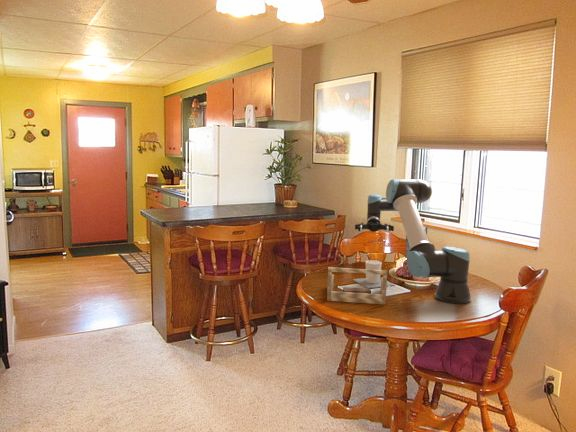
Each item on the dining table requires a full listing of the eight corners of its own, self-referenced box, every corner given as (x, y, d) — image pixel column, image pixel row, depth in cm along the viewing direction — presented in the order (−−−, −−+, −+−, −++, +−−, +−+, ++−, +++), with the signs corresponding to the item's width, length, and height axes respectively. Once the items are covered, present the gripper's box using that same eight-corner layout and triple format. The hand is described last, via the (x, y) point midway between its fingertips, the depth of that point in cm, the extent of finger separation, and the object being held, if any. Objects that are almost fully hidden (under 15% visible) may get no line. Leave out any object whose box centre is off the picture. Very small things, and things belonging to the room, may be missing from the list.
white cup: (380, 284, 233) (381, 264, 231) (364, 283, 235) (365, 263, 233) (380, 280, 241) (381, 260, 239) (365, 278, 242) (365, 259, 241)
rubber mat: (394, 285, 233) (394, 284, 232) (367, 288, 227) (367, 287, 227) (378, 277, 246) (378, 276, 246) (352, 280, 241) (352, 279, 241)
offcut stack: (369, 297, 215) (370, 287, 215) (372, 301, 209) (372, 291, 209) (338, 297, 215) (339, 287, 214) (340, 301, 209) (341, 291, 208)
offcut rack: (383, 289, 226) (385, 259, 224) (385, 304, 205) (387, 271, 203) (330, 286, 230) (331, 256, 228) (327, 300, 209) (328, 267, 207)
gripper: (396, 231, 264) (399, 238, 243) (351, 229, 268) (349, 236, 247) (396, 218, 263) (399, 223, 242) (351, 216, 267) (350, 221, 246)
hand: (374, 230), depth 245 cm, fingers open, 13 cm apart
